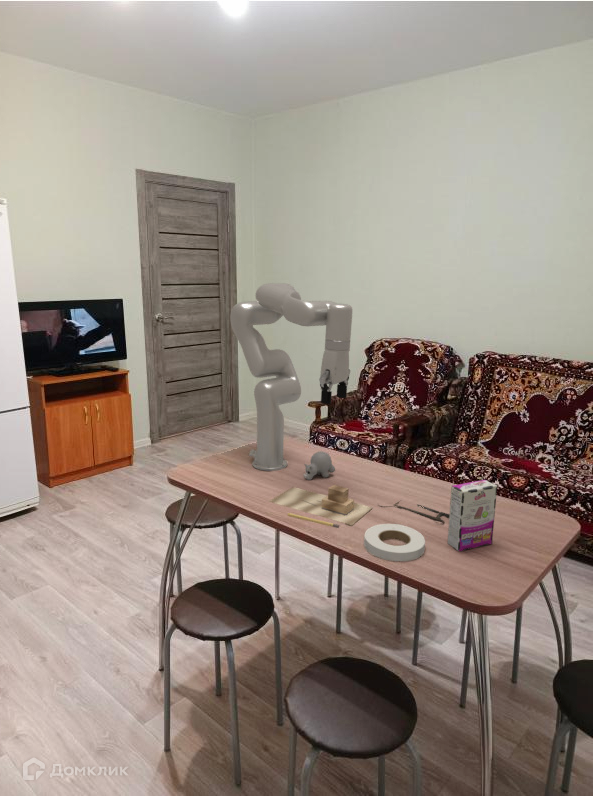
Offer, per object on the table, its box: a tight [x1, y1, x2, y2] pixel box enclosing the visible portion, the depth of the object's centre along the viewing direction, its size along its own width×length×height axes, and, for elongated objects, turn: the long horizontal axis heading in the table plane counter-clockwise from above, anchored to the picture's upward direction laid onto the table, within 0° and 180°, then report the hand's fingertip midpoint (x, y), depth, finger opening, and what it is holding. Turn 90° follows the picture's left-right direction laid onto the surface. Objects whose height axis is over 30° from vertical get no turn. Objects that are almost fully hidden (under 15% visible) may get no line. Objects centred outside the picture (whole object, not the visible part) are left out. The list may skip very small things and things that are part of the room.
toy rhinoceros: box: [303, 450, 336, 481], centre depth 185 cm, size 7×12×8 cm, turn 128°
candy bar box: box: [447, 479, 498, 552], centre depth 140 cm, size 11×5×16 cm, turn 114°
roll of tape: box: [363, 523, 426, 563], centre depth 140 cm, size 16×15×3 cm
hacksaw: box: [377, 499, 450, 525], centre depth 160 cm, size 24×10×2 cm, turn 43°
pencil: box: [287, 512, 340, 529], centre depth 153 cm, size 16×1×1 cm, turn 63°
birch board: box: [268, 486, 374, 527], centre depth 164 cm, size 28×14×1 cm, turn 58°
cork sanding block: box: [322, 484, 355, 515], centre depth 160 cm, size 8×5×6 cm, turn 58°
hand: (333, 400), depth 168 cm, fingers open, 9 cm apart
